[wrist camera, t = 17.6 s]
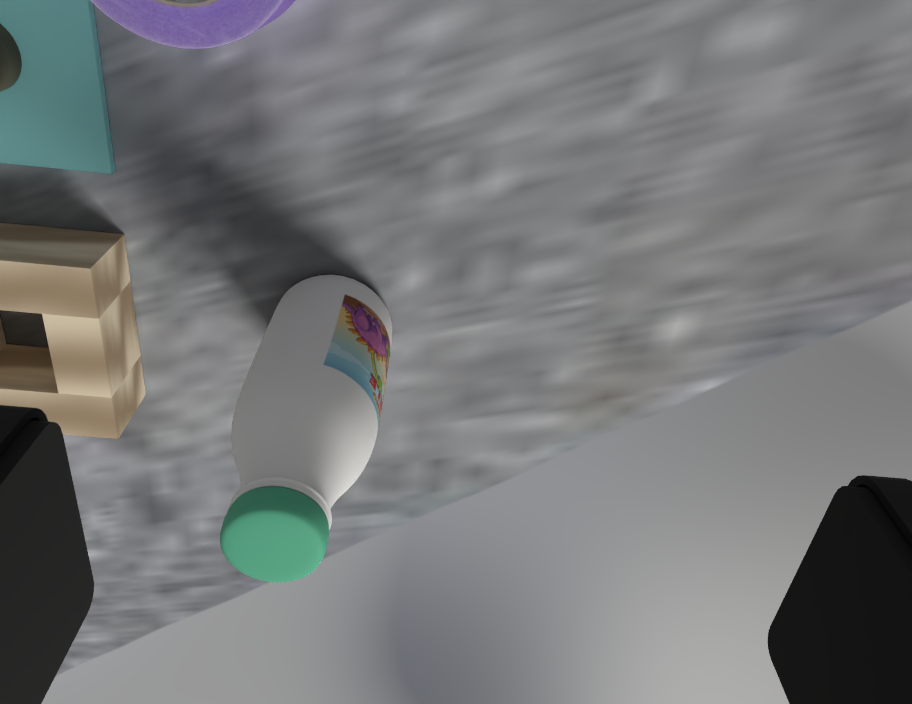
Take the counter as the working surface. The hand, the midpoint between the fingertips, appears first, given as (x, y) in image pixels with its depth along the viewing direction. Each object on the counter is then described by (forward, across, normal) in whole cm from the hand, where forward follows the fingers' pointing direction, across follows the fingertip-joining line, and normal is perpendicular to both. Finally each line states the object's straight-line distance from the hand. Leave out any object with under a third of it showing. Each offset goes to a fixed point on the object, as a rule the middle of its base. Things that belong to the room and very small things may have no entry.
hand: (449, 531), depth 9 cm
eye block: (+36, +25, +19) cm, 48 cm away
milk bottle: (+36, +6, +18) cm, 41 cm away
